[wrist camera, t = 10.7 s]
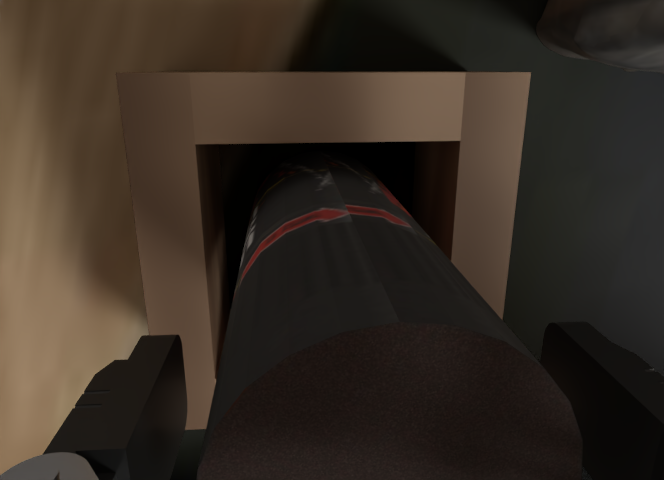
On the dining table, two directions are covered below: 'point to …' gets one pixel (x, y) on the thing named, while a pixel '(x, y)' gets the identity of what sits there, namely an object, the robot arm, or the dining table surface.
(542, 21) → the owl
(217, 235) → the socket block
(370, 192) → the deodorant
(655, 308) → the dining table surface
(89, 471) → the robot arm
